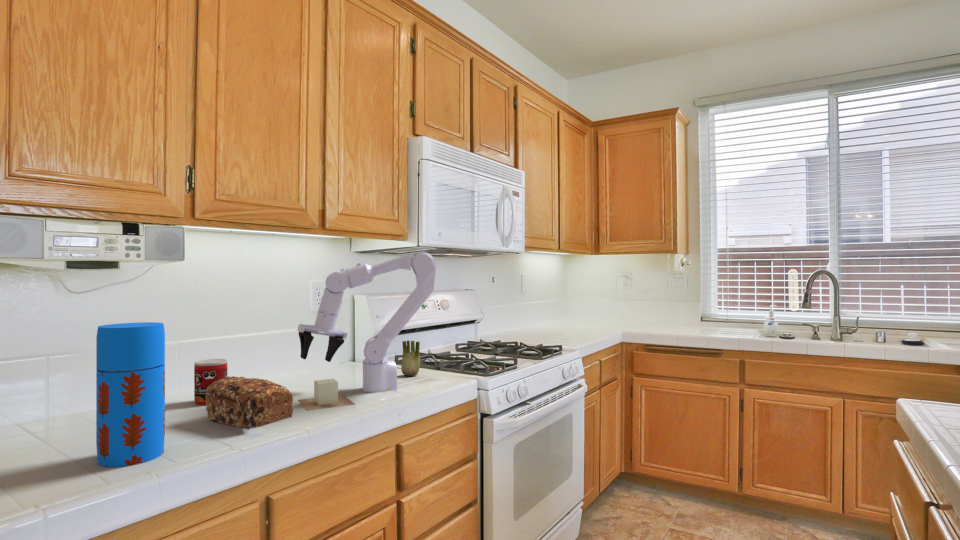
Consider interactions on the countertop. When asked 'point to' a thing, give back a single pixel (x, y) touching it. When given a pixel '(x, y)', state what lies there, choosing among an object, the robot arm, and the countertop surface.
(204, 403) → the canned food
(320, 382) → the beige cube
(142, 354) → the thermos
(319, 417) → the countertop surface
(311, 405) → the post base
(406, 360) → the fennel bulb
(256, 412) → the bread
